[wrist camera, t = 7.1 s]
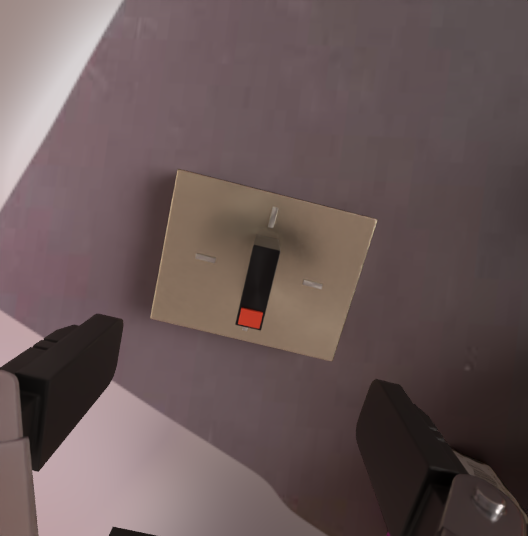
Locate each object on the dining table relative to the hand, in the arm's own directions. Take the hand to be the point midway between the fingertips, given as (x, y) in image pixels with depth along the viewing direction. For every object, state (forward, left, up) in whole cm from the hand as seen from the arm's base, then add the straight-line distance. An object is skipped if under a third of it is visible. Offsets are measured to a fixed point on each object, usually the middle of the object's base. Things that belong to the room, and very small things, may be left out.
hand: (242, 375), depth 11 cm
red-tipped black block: (0, 0, -14) cm, 14 cm away
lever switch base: (0, 0, -17) cm, 17 cm away
